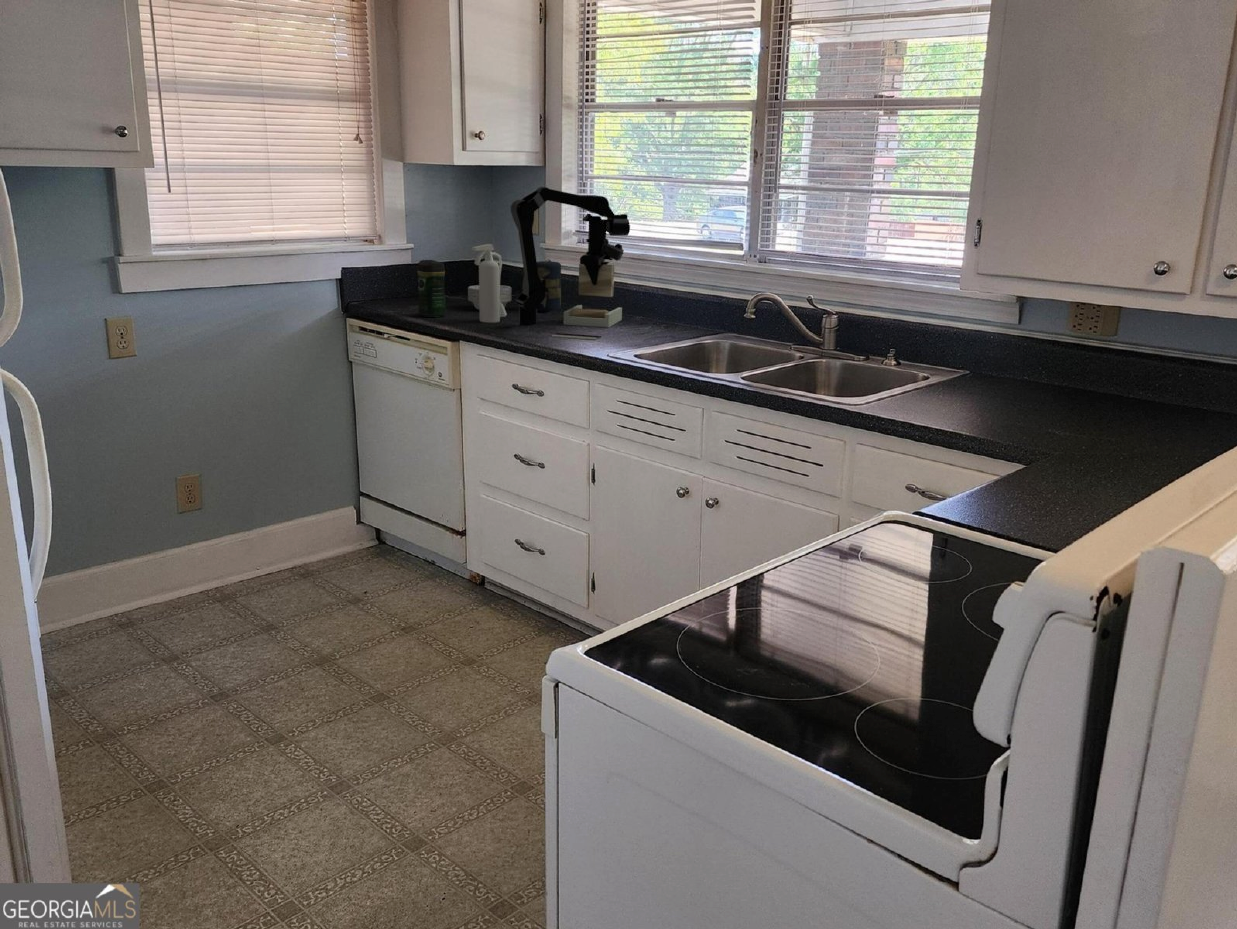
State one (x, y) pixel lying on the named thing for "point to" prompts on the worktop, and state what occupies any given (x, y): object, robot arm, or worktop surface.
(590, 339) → the grey mat
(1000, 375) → the worktop surface
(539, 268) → the canister
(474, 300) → the paper bowls
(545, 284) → the robot arm
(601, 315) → the offcut stack
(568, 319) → the rack
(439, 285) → the coffee jar
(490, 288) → the fire extinguisher
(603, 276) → the tan wooden block
